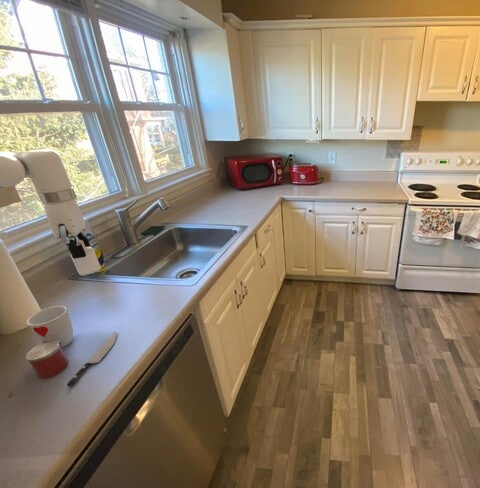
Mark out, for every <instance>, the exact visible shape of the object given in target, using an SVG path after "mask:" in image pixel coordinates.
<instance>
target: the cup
mask: <svg viewBox="0 0 480 488" xmlns="http://www.w3.org/2000/svg"><path fill="white" fill-rule="evenodd" d="M26 324H27V325H28V327H29V328H30V329H31V331H32V332H33V333H34V335H35V336H36V337H37V339H39V340H40V341H41V342H42V343H45V342H48V341H57V342H59V344H60V347H61V348H64V347H66V346H68V345H69V344H70V343H72V342H73V340H74V328H73V323H72V318H71V317H70V314H69V312H68V309H67V307H66V306H64V305H55V306H50V307H46V308H44V309H42V310H39V311H37V312H35V313H34V314H32V315H31V316H29V318H28V319H27V320H26Z"/></svg>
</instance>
